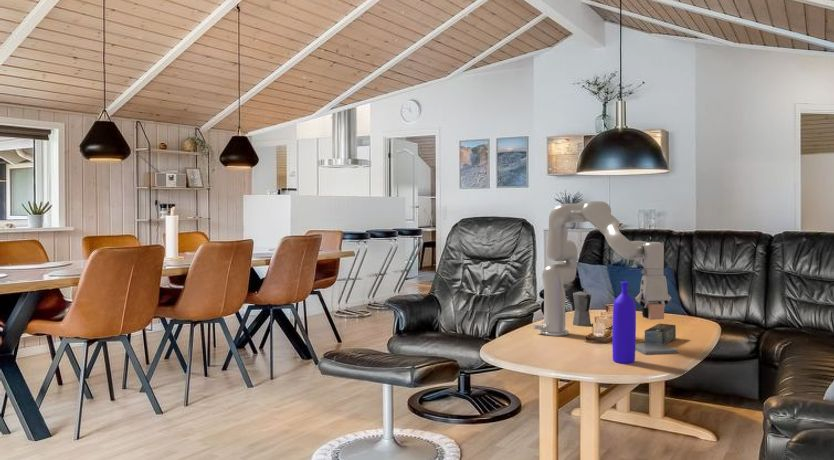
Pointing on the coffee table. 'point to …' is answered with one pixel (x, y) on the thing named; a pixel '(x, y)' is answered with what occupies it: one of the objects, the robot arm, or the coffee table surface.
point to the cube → (655, 311)
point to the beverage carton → (660, 333)
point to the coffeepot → (582, 308)
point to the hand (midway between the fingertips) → (653, 316)
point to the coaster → (654, 348)
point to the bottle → (624, 327)
